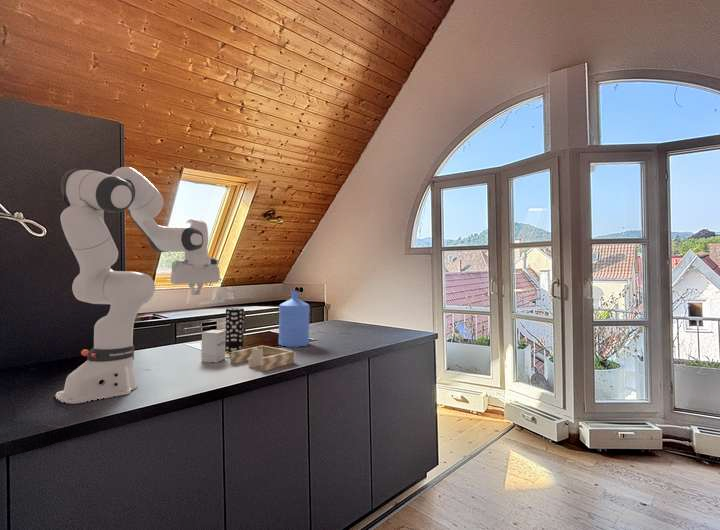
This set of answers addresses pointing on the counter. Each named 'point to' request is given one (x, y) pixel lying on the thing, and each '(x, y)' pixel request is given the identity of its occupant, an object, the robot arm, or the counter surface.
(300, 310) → the water jug
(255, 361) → the architectural model
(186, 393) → the counter surface
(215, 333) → the supplement box
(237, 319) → the white-spotted black cylinder
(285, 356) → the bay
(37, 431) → the counter surface
